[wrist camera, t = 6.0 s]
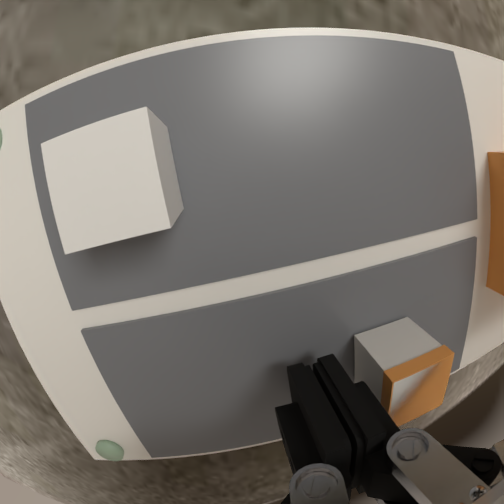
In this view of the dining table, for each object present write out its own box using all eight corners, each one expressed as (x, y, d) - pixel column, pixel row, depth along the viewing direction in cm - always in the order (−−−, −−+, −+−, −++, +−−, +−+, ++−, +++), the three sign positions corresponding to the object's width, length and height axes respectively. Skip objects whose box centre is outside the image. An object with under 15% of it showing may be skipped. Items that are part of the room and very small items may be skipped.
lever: (167, 127, 8) (146, 106, 5) (183, 208, 9) (171, 228, 6) (90, 149, 8) (40, 143, 5) (107, 227, 8) (65, 254, 6)
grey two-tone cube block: (408, 315, 11) (454, 353, 8) (404, 363, 11) (441, 404, 9) (353, 334, 10) (392, 382, 8) (353, 383, 11) (385, 432, 8)
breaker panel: (506, 77, 11) (537, 72, 9) (511, 307, 16) (536, 322, 13) (-2, 135, 9) (-41, 133, 6) (104, 428, 14) (93, 463, 11)
